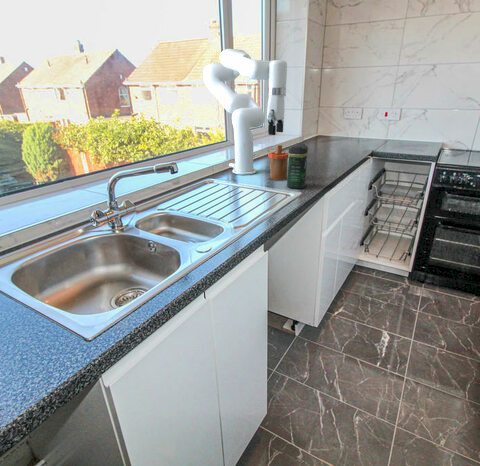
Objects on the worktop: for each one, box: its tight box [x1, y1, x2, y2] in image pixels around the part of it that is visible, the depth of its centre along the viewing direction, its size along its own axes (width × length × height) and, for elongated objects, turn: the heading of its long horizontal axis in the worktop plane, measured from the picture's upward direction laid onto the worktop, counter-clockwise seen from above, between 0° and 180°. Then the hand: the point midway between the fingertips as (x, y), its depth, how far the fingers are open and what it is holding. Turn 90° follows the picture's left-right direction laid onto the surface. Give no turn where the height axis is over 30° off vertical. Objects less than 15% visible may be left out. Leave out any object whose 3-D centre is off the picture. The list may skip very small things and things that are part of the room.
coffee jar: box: [286, 143, 309, 190], centre depth 144 cm, size 10×8×19 cm
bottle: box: [269, 144, 288, 181], centre depth 158 cm, size 8×8×16 cm
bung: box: [267, 151, 288, 159], centre depth 156 cm, size 10×10×2 cm
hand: (275, 133), depth 149 cm, fingers open, 9 cm apart
